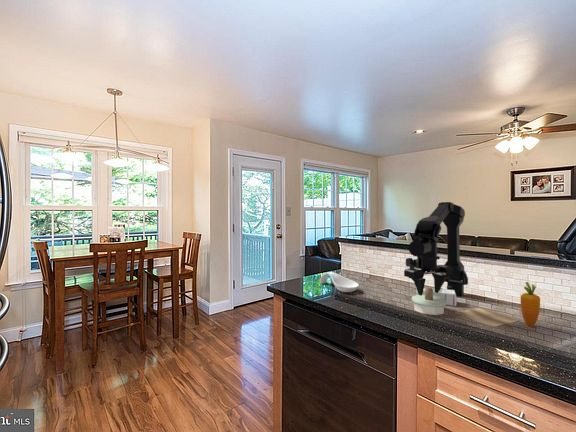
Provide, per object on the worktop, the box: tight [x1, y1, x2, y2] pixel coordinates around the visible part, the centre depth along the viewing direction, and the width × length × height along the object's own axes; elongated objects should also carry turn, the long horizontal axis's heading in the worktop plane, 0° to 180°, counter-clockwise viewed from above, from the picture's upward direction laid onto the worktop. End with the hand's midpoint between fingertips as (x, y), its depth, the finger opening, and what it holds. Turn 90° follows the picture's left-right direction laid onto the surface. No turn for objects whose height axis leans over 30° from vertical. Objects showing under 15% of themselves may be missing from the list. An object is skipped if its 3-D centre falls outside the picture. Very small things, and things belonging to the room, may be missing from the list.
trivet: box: [454, 306, 521, 328], centre depth 104 cm, size 14×14×1 cm
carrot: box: [520, 281, 541, 328], centre depth 95 cm, size 5×5×15 cm
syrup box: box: [415, 287, 458, 307], centre depth 120 cm, size 6×6×14 cm
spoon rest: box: [319, 271, 360, 293], centre depth 147 cm, size 24×12×7 cm, turn 34°
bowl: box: [413, 302, 445, 316], centre depth 111 cm, size 10×10×4 cm
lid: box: [411, 287, 448, 308], centre depth 111 cm, size 12×12×5 cm
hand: (428, 294), depth 111 cm, fingers open, 8 cm apart
